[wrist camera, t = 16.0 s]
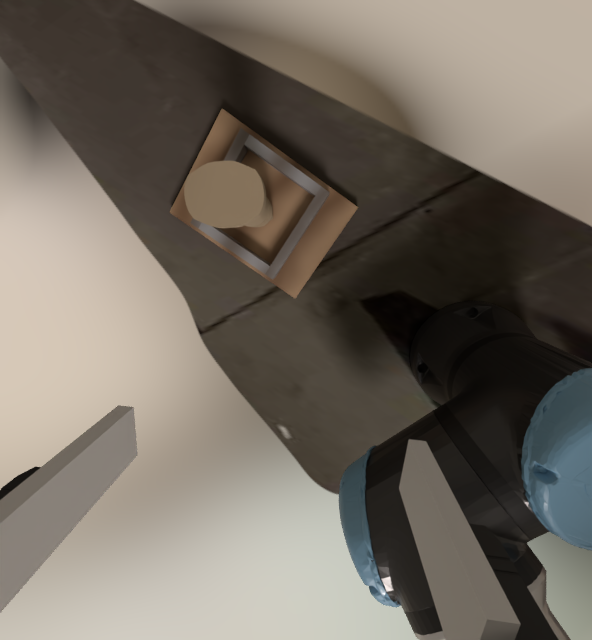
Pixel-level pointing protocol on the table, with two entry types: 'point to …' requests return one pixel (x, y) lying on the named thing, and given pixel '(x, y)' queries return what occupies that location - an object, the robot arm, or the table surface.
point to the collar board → (288, 209)
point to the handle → (227, 196)
